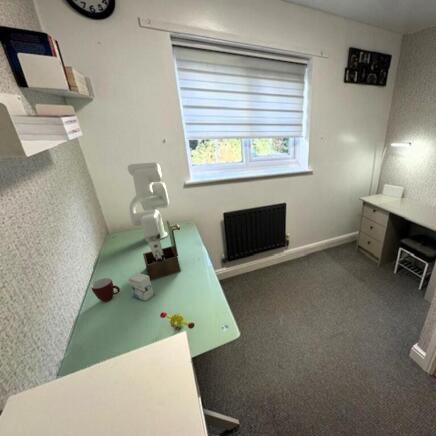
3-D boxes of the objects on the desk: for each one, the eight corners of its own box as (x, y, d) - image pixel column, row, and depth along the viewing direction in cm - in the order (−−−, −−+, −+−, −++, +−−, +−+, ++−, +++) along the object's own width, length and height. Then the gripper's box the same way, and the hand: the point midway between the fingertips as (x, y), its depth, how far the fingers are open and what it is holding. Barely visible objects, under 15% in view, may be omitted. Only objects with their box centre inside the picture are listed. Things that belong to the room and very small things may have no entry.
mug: (124, 291, 123) (119, 275, 119) (120, 301, 116) (114, 285, 112) (100, 295, 120) (94, 279, 116) (94, 306, 113) (87, 290, 109)
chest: (150, 280, 131) (145, 265, 127) (146, 267, 142) (142, 253, 138) (180, 271, 140) (177, 256, 136) (175, 259, 151) (172, 245, 147)
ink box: (133, 296, 120) (127, 278, 115) (142, 290, 124) (136, 272, 119) (146, 301, 117) (140, 282, 112) (154, 294, 121) (149, 275, 117)
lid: (171, 230, 129) (181, 228, 131) (166, 220, 140) (175, 219, 143) (176, 256, 135) (186, 253, 138) (171, 245, 146) (180, 243, 149)
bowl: (153, 265, 140) (151, 259, 138) (165, 262, 144) (164, 255, 142) (154, 270, 135) (153, 263, 133) (167, 266, 139) (165, 260, 137)
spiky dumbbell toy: (157, 326, 103) (154, 314, 101) (167, 317, 108) (164, 305, 105) (190, 339, 98) (187, 327, 95) (199, 329, 102) (197, 317, 100)
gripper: (163, 241, 127) (169, 268, 134) (157, 229, 140) (163, 254, 147) (147, 245, 123) (154, 272, 130) (143, 232, 136) (150, 258, 143)
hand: (159, 262), depth 138 cm, fingers open, 7 cm apart
